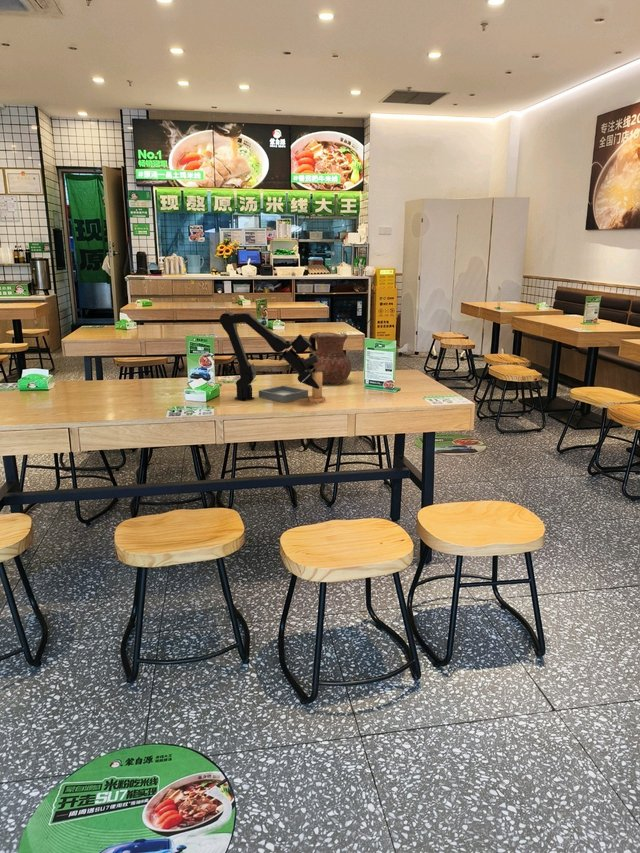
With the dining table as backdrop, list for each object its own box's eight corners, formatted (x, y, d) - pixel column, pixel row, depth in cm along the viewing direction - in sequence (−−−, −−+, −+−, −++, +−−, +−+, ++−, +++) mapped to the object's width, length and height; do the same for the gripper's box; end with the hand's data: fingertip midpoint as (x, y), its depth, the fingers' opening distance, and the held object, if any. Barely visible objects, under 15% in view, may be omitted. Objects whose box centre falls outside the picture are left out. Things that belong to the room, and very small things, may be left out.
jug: (351, 378, 329) (352, 331, 322) (351, 387, 309) (352, 336, 302) (309, 378, 330) (309, 330, 323) (306, 386, 309) (306, 335, 303)
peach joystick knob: (317, 403, 273) (318, 374, 270) (305, 401, 278) (305, 372, 274) (328, 401, 279) (328, 372, 275) (316, 398, 283) (316, 370, 280)
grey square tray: (283, 402, 275) (283, 395, 274) (258, 397, 285) (258, 390, 284) (308, 396, 287) (308, 390, 286) (283, 391, 297) (283, 385, 296)
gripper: (305, 351, 263) (330, 377, 265) (310, 345, 281) (334, 369, 283) (286, 369, 266) (312, 395, 268) (293, 362, 284) (317, 386, 286)
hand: (319, 386), depth 276 cm, fingers open, 9 cm apart
